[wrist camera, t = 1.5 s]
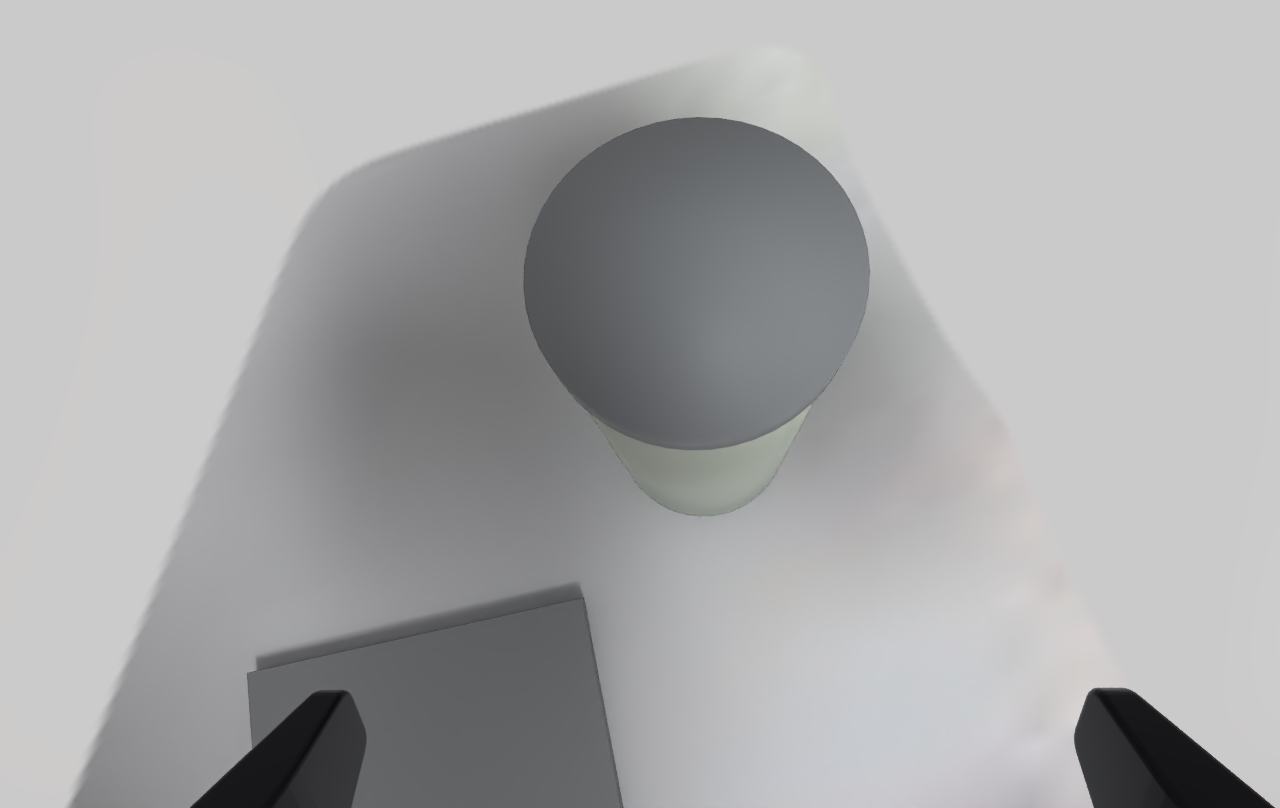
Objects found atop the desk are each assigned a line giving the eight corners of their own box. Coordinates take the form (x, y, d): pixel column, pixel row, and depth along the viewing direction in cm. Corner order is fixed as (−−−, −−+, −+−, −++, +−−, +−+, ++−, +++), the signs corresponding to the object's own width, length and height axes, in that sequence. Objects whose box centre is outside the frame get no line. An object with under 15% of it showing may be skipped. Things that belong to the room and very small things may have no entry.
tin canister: (808, 498, 22) (915, 391, 11) (636, 536, 22) (557, 473, 11) (764, 335, 24) (815, 83, 12) (602, 373, 24) (498, 161, 12)
